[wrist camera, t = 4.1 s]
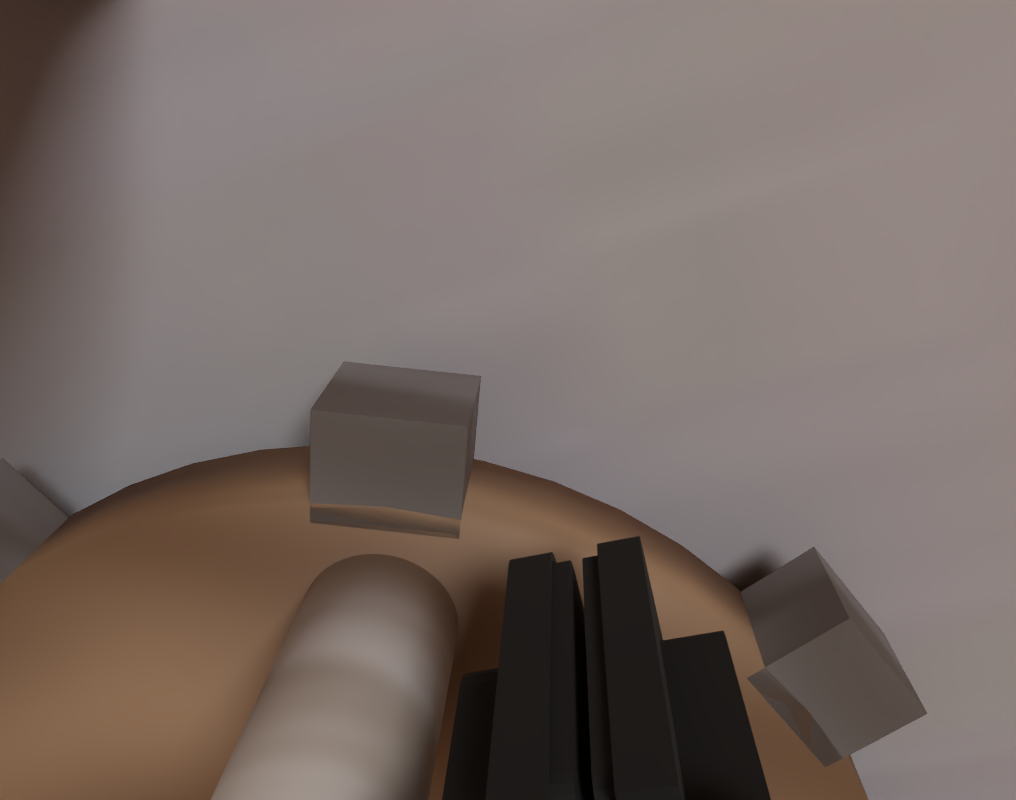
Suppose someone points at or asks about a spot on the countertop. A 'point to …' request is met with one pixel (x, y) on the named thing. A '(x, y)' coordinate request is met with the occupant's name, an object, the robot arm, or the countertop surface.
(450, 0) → the countertop surface
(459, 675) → the sprocket wheel
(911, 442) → the countertop surface
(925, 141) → the countertop surface
